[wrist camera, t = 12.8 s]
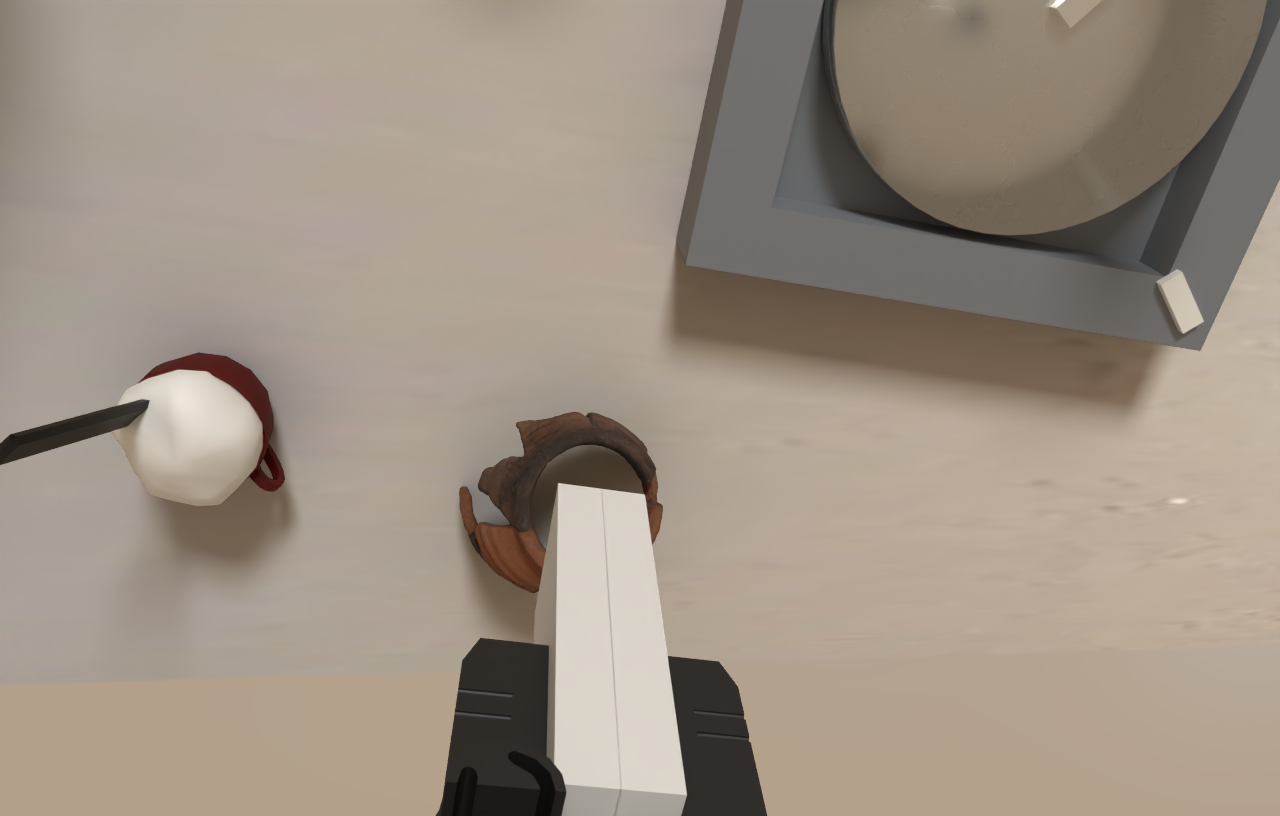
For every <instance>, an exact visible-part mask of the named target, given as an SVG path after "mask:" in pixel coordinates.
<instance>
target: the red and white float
mask: <svg viewBox="0 0 1280 816" xmlns="http://www.w3.org/2000/svg"><path fill="white" fill-rule="evenodd" d="M272 429H273V413H272V408H271V404H270V400H269V395H268V391H267V390H266V388H265V387H264V386H263V385H262V383H261V382H260V381H259V380H258V378H257V377H256V376H255V375H254V373H253V372H252V371H251V370H250V369H248V368H246V367H245V366H243V365H241V364H239V363H237V362H236V361H234V360H232V359H230V358H228V357H227V356H220V355H213V354H205V353H196V354H192V355H189V356H185V357H182V358H178V359H175V360H172V361H168V362H165V363H163V364H160V365H158V366H156V367H155V368H153V369H152V370H151V371H150V372H149V373H148V374H147V375H146V376H145V377H144V378H143V379H142V380H141V381H140V382H139V383H138V384H136V385H134V386H132V387H130V388H128V389H126V391H125V392H124V394H123V396H122V397H121V399H120V400H119V402H118V404H117V405H116V406H114V407H111V408H107V409H103V410H100V411H96V412H92V413H88V414H85V415H81V416H77V417H73V418H70V419H66V420H62V421H59V422H55V423H51V424H47V425H44V426H40V427H36V428H32V429H29V430H25V431H21V432H18V433H14V434H10V435H9V436H8V437H7V438H6V439H5V440H4V441H3V442H2V443H1V444H0V465H2V464H5V463H9V462H12V461H15V460H18V459H22V458H25V457H28V456H32V455H35V454H38V453H42V452H45V451H48V450H51V449H55V448H58V447H61V446H65V445H68V444H71V443H75V442H78V441H81V440H84V439H88V438H91V437H94V436H98V435H101V434H104V433H108V432H112V434H113V435H114V437H115V438H116V439H117V441H118V442H119V444H120V445H121V446H122V448H123V449H124V451H125V453H126V455H127V457H128V460H129V462H130V464H131V466H132V468H133V470H134V472H135V473H136V475H137V476H138V477H139V479H140V480H141V482H142V483H143V485H144V487H145V488H146V490H147V491H148V493H149V495H152V496H156V497H160V498H163V499H167V500H171V501H175V502H180V503H185V504H190V505H194V506H209V505H220V504H221V503H222V502H223V501H224V500H225V499H227V498H228V497H229V496H230V495H231V494H232V493H233V492H234V491H235V490H236V489H237V488H238V487H239V486H240V485H241V484H242V483H243V481H245V480H246V479H247V478H248V477H249V476H250V477H251V479H252V480H253V481H254V482H255V483H256V484H257V485H258V486H259V487H261V488H262V489H264V490H266V491H269V492H273V491H275V490H277V489H278V488H279V487H281V485H282V484H283V483H284V480H285V477H284V471H283V468H282V466H281V464H280V462H279V460H278V458H277V456H276V454H275V452H274V451H273V449H272V447H271V446H270V444H269V439H270V436H271V433H272ZM263 459H264V460H265V462H266V464H267V465H268V467H269V469H270V471H271V473H272V477H273V480H272V479H271V478H269V477H267V476H266V475H265V473H264V472H263V471H262V469H261V467H260V464H261V462H262V460H263Z"/></svg>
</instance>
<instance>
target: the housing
mask: <svg viewBox="0 0 1280 816" xmlns="http://www.w3.org/2000/svg"><path fill="white" fill-rule="evenodd" d="M825 1H826V0H727V3H726V8H725V12H724V17H723V22H722V26H721V31H720V36H719V41H718V45H717V50H716V55H715V59H714V64H713V69H712V74H711V78H710V83H709V88H708V92H707V97H706V102H705V107H704V111H703V116H702V121H701V125H700V130H699V135H698V140H697V144H696V149H695V154H694V158H693V163H692V168H691V173H690V177H689V182H688V187H687V191H686V196H685V201H684V206H683V210H682V215H681V220H680V224H679V229H678V234H677V242H678V245H679V248H680V251H681V253H682V256H683V259H684V262H685V265H688V266H694V267H700V268H706V269H712V270H718V271H724V272H730V273H736V274H742V275H748V276H754V277H760V278H766V279H772V280H778V281H784V282H790V283H796V284H802V285H808V286H814V287H820V288H826V289H832V290H838V291H844V292H850V293H856V294H862V295H868V296H874V297H880V298H886V299H892V300H898V301H904V302H910V303H916V304H922V305H928V306H934V307H940V308H946V309H952V310H958V311H964V312H970V313H976V314H982V315H988V316H994V317H1000V318H1006V319H1012V320H1018V321H1024V322H1030V323H1036V324H1042V325H1048V326H1054V327H1060V328H1066V329H1072V330H1078V331H1084V332H1090V333H1096V334H1102V335H1108V336H1114V337H1120V338H1126V339H1132V340H1138V341H1144V342H1150V343H1156V344H1162V345H1168V346H1174V347H1180V348H1186V349H1192V350H1198V351H1200V350H1201V348H1202V346H1203V344H1204V342H1205V340H1206V338H1207V335H1208V333H1209V331H1210V329H1211V327H1212V325H1213V322H1214V320H1215V318H1216V316H1217V314H1218V312H1219V309H1220V307H1221V305H1222V303H1223V301H1224V299H1225V296H1226V294H1227V292H1228V290H1229V288H1230V286H1231V283H1232V281H1233V279H1234V277H1235V275H1236V273H1237V270H1238V268H1239V266H1240V264H1241V262H1242V260H1243V257H1244V255H1245V253H1246V251H1247V249H1248V247H1249V244H1250V242H1251V240H1252V238H1253V236H1254V234H1255V232H1256V229H1257V227H1258V225H1259V223H1260V221H1261V219H1262V216H1263V214H1264V212H1265V210H1266V208H1267V206H1268V203H1269V201H1270V199H1271V197H1272V195H1273V193H1274V190H1275V188H1276V186H1277V184H1278V182H1279V180H1280V0H1267V3H1266V7H1265V12H1264V16H1263V21H1262V25H1261V29H1260V32H1259V35H1258V38H1257V40H1256V43H1255V46H1254V49H1253V52H1252V55H1251V58H1250V60H1249V62H1248V64H1247V66H1246V68H1245V71H1244V73H1243V75H1242V77H1241V79H1240V81H1239V84H1238V86H1237V87H1236V89H1235V91H1234V92H1233V94H1232V96H1231V97H1230V99H1229V101H1228V102H1227V104H1226V106H1225V107H1224V109H1223V111H1222V112H1221V114H1220V115H1219V116H1218V118H1217V119H1216V120H1215V122H1214V123H1213V124H1212V126H1211V127H1210V128H1209V130H1208V131H1207V133H1206V134H1205V135H1204V137H1203V138H1202V139H1201V140H1200V141H1199V142H1198V143H1197V144H1196V145H1195V146H1194V148H1193V149H1192V150H1191V151H1190V152H1189V153H1188V154H1187V155H1186V156H1185V157H1184V159H1183V160H1181V161H1180V162H1179V163H1178V164H1177V165H1176V166H1175V167H1174V168H1173V169H1171V170H1170V171H1169V172H1168V173H1167V174H1166V175H1165V176H1164V177H1162V178H1161V179H1160V180H1159V181H1157V182H1156V183H1155V184H1153V185H1152V186H1150V187H1149V188H1148V189H1146V190H1145V191H1144V192H1142V193H1141V194H1139V195H1138V196H1137V197H1135V198H1133V199H1131V200H1130V201H1128V202H1126V203H1124V204H1123V205H1121V206H1119V207H1117V208H1116V209H1114V210H1112V211H1110V212H1108V213H1105V214H1103V215H1101V216H1098V217H1096V218H1094V219H1092V220H1089V221H1087V222H1084V223H1080V224H1077V225H1074V226H1071V227H1067V228H1064V229H1060V230H1055V231H1049V232H1044V233H1038V234H1026V235H999V234H987V233H981V232H976V231H972V230H967V229H963V228H959V227H957V226H954V225H951V224H949V223H946V222H943V221H941V220H938V219H936V218H934V217H932V216H931V215H929V214H927V213H925V212H923V211H922V210H920V209H918V208H916V207H915V206H914V205H912V204H911V203H910V202H908V201H907V200H906V199H904V198H903V197H902V196H901V195H899V194H898V193H897V192H895V191H894V190H893V189H892V188H890V187H889V186H888V185H887V184H885V183H884V182H883V181H882V180H881V179H880V178H879V177H878V176H877V175H876V174H875V173H874V172H873V171H872V170H871V169H870V168H869V167H868V166H867V165H866V164H865V162H864V161H863V159H862V158H861V157H860V155H859V154H858V152H857V151H856V149H855V148H854V147H853V145H852V144H851V142H850V140H849V138H848V136H847V134H846V133H845V131H844V129H843V127H842V125H841V123H840V121H839V118H838V115H837V113H836V110H835V107H834V104H833V101H832V98H831V96H830V91H829V86H828V81H827V77H826V72H825V64H824V52H823V19H824V7H825Z"/></svg>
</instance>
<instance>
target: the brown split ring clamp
mask: <svg viewBox="0 0 1280 816" xmlns="http://www.w3.org/2000/svg"><path fill="white" fill-rule="evenodd" d="M516 426H517V428H518V429H519V432H520V435H521V440H522V443H523V448H524V456H523V457H509V458H506V459H503V460H501V461H500V462H499V463H498V464H496V465H495V466H494V467H489V468H486V469H485V470H484V471H483V472H482V475H481V478H480V480H479V483H478V489H479V490H480V491H481V492H483V493H485V494H486V495H489V497H490V499H491V501H492V502H493V504H494V505H495V506H496V507H497V508H498V509H500V510H501V512H502V513H503V515H504V516H505V517H506V518H507V520H508V521H509V522H510V524H509V525H502V526H498V525H493V524H490V523H486V522H480V523H479V524H478V523H477V521H476V518H475V516H474V514H473V507H472V496H471V494H470V493H469V490H468V488H467V487H461V488H460V492H459V494H460V510H461V513H462V517H463V522H464V526H465V528H466V530H467V532H468V534H469V537H470V540H471V542H472V544H473V546H474V548H475V550H476V551H477V552H478V553H479V554H480V556H481V557H482V559H483V560H484V561H485V562H486V563H487V564H488V565H489V566H490V567H491V568H492V569H493V570H494V571H495V572H496V573H497V574H498V575H499V576H502V577H504V578H505V579H507V580H508V581H510V582H512V583H513V584H514V585H516V586H518V587H520V588H522V589H524V590H527V591H529V592H532V593H536V592H538V591H539V587H540V581H541V576H542V570H543V565H544V559H545V554H546V549H545V548H544V546H543V545H542V544H541V542H540V541H539V539H538V537H537V534H536V532H535V529H534V527H533V525H532V522H531V499H532V494H533V491H534V488H535V485H536V482H537V480H538V478H539V476H540V474H541V472H542V471H543V470H544V468H545V467H546V465H547V463H548V462H550V461H551V460H552V459H554V458H555V457H556V456H557V455H559V454H561V453H563V452H564V451H566V450H568V449H570V448H573V447H576V446H580V445H598V446H603V447H606V448H609V449H611V450H613V451H615V452H617V453H618V454H620V455H621V456H622V457H624V458H625V459H626V461H627V462H628V463H629V464H630V465H631V466H632V468H633V469H634V470H635V472H636V474H637V476H638V477H639V479H640V480H641V482H642V487H643V492H644V494H645V498H646V506H647V513H648V520H649V527H650V534H651V541H652V544H653V542H654V541H655V539H656V536H657V534H658V532H659V529H660V524H661V519H662V511H663V506H662V505H661V504H659V503H657V489H658V482H657V477H656V472H655V471H656V467H655V465H654V463H653V462H652V460H651V458H650V456H649V455H648V454H647V448H646V447H645V445H644V443H643V442H642V441H641V440H639V438H638V437H637V436H635V435H634V434H633V433H632V432H631V431H629V430H628V429H627V428H625V427H624V426H623V425H621V424H619V423H618V422H616V421H614V420H612V419H610V418H607V417H604V416H602V415H599V414H596V413H588V414H587V415H586V417H585V416H584V415H582V414H581V413H578V412H572V413H566V414H562V415H560V416H555V417H553V418H549V419H543V420H536V421H532V420H528V421H522V422H517V423H516Z"/></svg>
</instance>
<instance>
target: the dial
mask: <svg viewBox="0 0 1280 816" xmlns="http://www.w3.org/2000/svg"><path fill="white" fill-rule="evenodd" d="M1266 3H1267V0H826V1H825V7H824V19H823V52H824V64H825V72H826V77H827V81H828V86H829V91H830V96H831V98H832V101H833V104H834V107H835V110H836V113H837V115H838V118H839V121H840V123H841V125H842V127H843V129H844V131H845V133H846V134H847V136H848V138H849V140H850V142H851V144H852V145H853V147H854V148H855V149H856V151H857V152H858V154H859V155H860V157H861V158H862V159H863V161H864V162H865V164H866V165H867V166H868V167H869V168H870V169H871V170H872V171H873V172H874V173H875V174H876V175H877V176H878V177H879V178H880V179H881V180H882V181H883V182H884V183H885V184H887V185H888V186H889V187H890V188H892V189H893V190H894V191H895V192H897V193H898V194H899V195H901V196H902V197H903V198H904V199H906V200H907V201H908V202H910V203H911V204H912V205H914V206H915V207H916V208H918V209H920V210H922V211H923V212H925V213H927V214H929V215H931V216H932V217H934V218H936V219H938V220H941V221H943V222H946V223H949V224H951V225H954V226H957V227H959V228H963V229H967V230H972V231H976V232H981V233H987V234H999V235H1026V234H1038V233H1044V232H1049V231H1055V230H1060V229H1064V228H1067V227H1071V226H1074V225H1077V224H1080V223H1084V222H1087V221H1089V220H1092V219H1094V218H1096V217H1098V216H1101V215H1103V214H1105V213H1108V212H1110V211H1112V210H1114V209H1116V208H1117V207H1119V206H1121V205H1123V204H1124V203H1126V202H1128V201H1130V200H1131V199H1133V198H1135V197H1137V196H1138V195H1139V194H1141V193H1142V192H1144V191H1145V190H1146V189H1148V188H1149V187H1150V186H1152V185H1153V184H1155V183H1156V182H1157V181H1159V180H1160V179H1161V178H1162V177H1164V176H1165V175H1166V174H1167V173H1168V172H1169V171H1170V170H1171V169H1173V168H1174V167H1175V166H1176V165H1177V164H1178V163H1179V162H1180V161H1181V160H1183V159H1184V157H1185V156H1186V155H1187V154H1188V153H1189V152H1190V151H1191V150H1192V149H1193V148H1194V146H1195V145H1196V144H1197V143H1198V142H1199V141H1200V140H1201V139H1202V138H1203V137H1204V135H1205V134H1206V133H1207V131H1208V130H1209V128H1210V127H1211V126H1212V124H1213V123H1214V122H1215V120H1216V119H1217V118H1218V116H1219V115H1220V114H1221V112H1222V111H1223V109H1224V107H1225V106H1226V104H1227V102H1228V101H1229V99H1230V97H1231V96H1232V94H1233V92H1234V91H1235V89H1236V87H1237V86H1238V84H1239V81H1240V79H1241V77H1242V75H1243V73H1244V71H1245V68H1246V66H1247V64H1248V62H1249V60H1250V58H1251V55H1252V52H1253V49H1254V46H1255V43H1256V40H1257V38H1258V35H1259V32H1260V29H1261V25H1262V21H1263V16H1264V12H1265V7H1266Z"/></svg>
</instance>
